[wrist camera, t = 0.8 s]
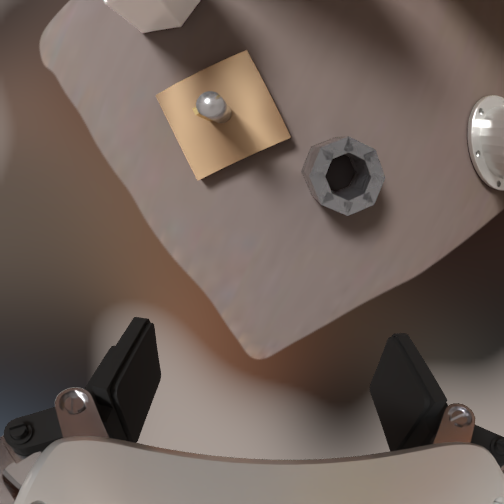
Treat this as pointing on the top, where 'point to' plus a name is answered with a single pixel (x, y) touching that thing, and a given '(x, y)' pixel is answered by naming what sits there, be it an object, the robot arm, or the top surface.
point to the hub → (362, 183)
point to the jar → (153, 12)
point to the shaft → (212, 107)
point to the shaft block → (236, 128)
